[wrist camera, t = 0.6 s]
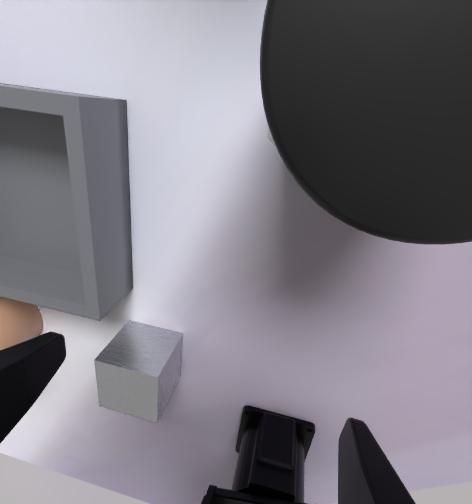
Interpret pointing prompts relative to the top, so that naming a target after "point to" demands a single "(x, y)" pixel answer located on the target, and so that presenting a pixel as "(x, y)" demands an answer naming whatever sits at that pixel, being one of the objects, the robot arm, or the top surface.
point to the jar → (375, 111)
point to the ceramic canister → (18, 322)
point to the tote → (64, 200)
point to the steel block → (139, 370)
